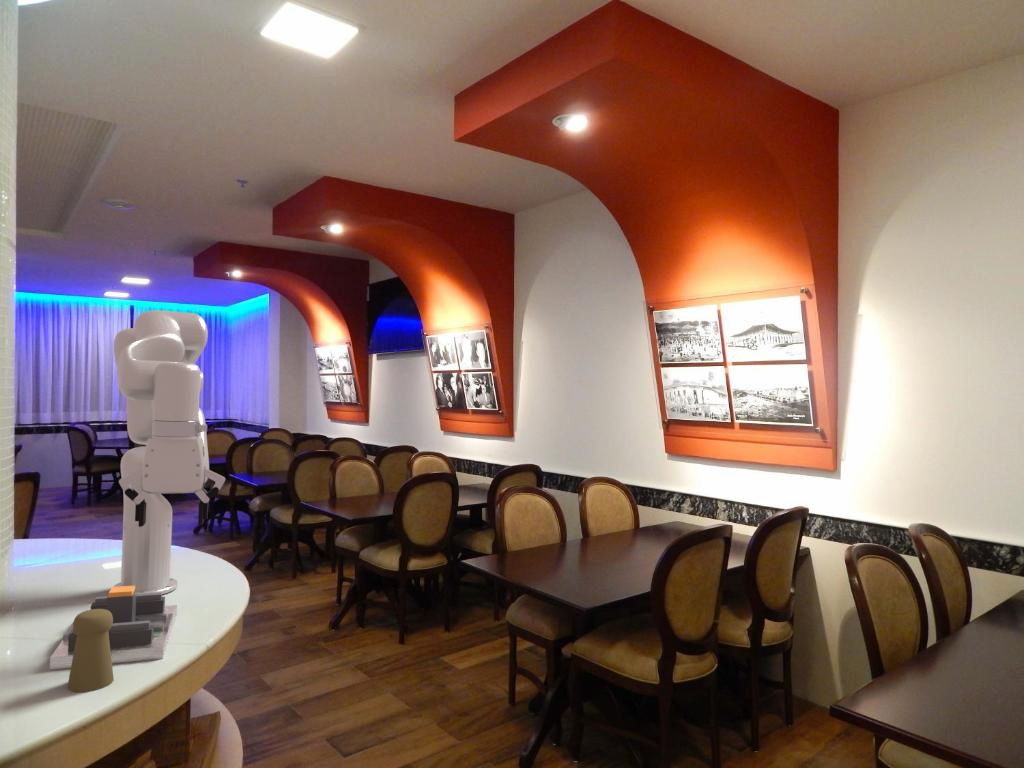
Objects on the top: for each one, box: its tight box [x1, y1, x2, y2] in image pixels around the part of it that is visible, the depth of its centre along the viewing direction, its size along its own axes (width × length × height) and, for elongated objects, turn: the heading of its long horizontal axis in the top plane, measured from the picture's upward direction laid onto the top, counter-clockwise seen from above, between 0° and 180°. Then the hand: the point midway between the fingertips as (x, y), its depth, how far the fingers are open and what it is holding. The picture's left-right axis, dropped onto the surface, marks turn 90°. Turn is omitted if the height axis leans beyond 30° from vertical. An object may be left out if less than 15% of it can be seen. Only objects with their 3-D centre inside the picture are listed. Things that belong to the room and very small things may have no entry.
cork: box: [67, 609, 115, 693], centre depth 102 cm, size 6×6×11 cm
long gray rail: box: [68, 593, 166, 652], centre depth 119 cm, size 18×12×3 cm, turn 21°
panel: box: [49, 604, 178, 671], centre depth 119 cm, size 22×16×3 cm
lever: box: [106, 586, 136, 623], centre depth 119 cm, size 4×4×7 cm
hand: (171, 524), depth 122 cm, fingers open, 9 cm apart
